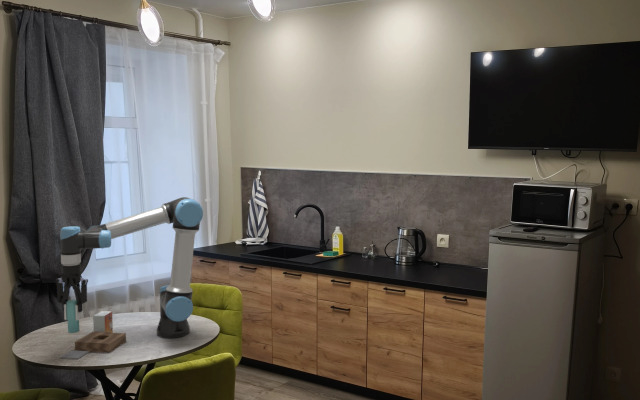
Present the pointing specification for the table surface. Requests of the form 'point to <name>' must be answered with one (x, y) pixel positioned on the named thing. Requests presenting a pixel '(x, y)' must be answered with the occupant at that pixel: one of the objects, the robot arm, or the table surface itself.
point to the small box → (103, 322)
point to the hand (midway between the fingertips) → (72, 319)
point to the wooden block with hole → (100, 342)
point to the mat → (74, 354)
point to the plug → (72, 317)
